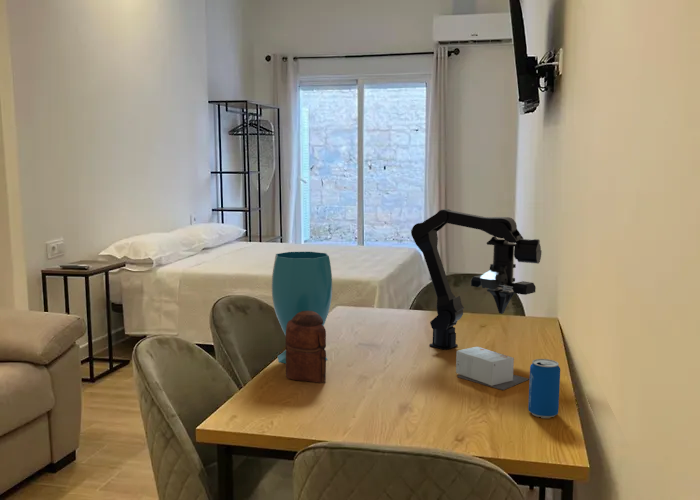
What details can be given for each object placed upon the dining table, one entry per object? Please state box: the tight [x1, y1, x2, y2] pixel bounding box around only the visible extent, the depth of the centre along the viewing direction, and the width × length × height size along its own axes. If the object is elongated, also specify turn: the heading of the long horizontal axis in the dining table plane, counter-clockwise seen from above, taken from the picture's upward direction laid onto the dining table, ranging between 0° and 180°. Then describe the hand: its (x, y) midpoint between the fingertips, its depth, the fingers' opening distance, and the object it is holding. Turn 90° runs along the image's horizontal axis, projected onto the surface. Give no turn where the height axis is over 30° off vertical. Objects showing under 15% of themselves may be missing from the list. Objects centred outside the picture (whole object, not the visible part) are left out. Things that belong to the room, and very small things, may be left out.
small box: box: [455, 346, 515, 386], centre depth 171 cm, size 8×6×13 cm
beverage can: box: [527, 358, 561, 419], centre depth 146 cm, size 6×6×12 cm
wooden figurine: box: [285, 311, 327, 384], centre depth 169 cm, size 12×6×18 cm, turn 73°
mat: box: [457, 374, 530, 391], centre depth 172 cm, size 14×12×1 cm
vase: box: [271, 251, 333, 365], centre depth 187 cm, size 17×17×30 cm
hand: (501, 313), depth 192 cm, fingers closed
